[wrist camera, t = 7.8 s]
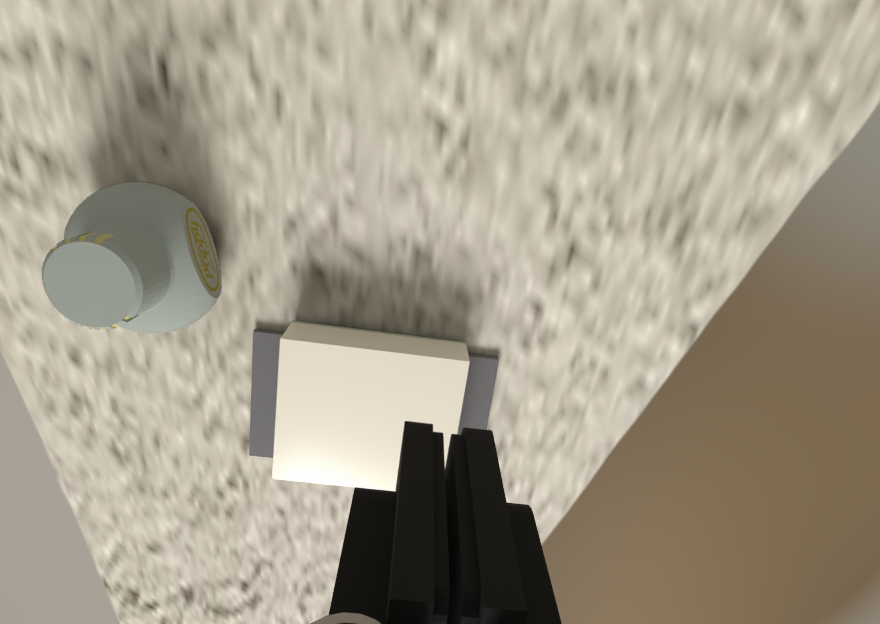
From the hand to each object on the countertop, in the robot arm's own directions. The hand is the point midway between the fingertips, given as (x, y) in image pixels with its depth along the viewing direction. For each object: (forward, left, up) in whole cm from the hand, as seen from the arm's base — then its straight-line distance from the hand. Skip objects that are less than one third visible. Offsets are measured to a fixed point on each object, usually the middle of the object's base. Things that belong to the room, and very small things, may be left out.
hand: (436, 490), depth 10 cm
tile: (+9, -3, -30) cm, 31 cm away
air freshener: (+5, -20, -33) cm, 39 cm away
